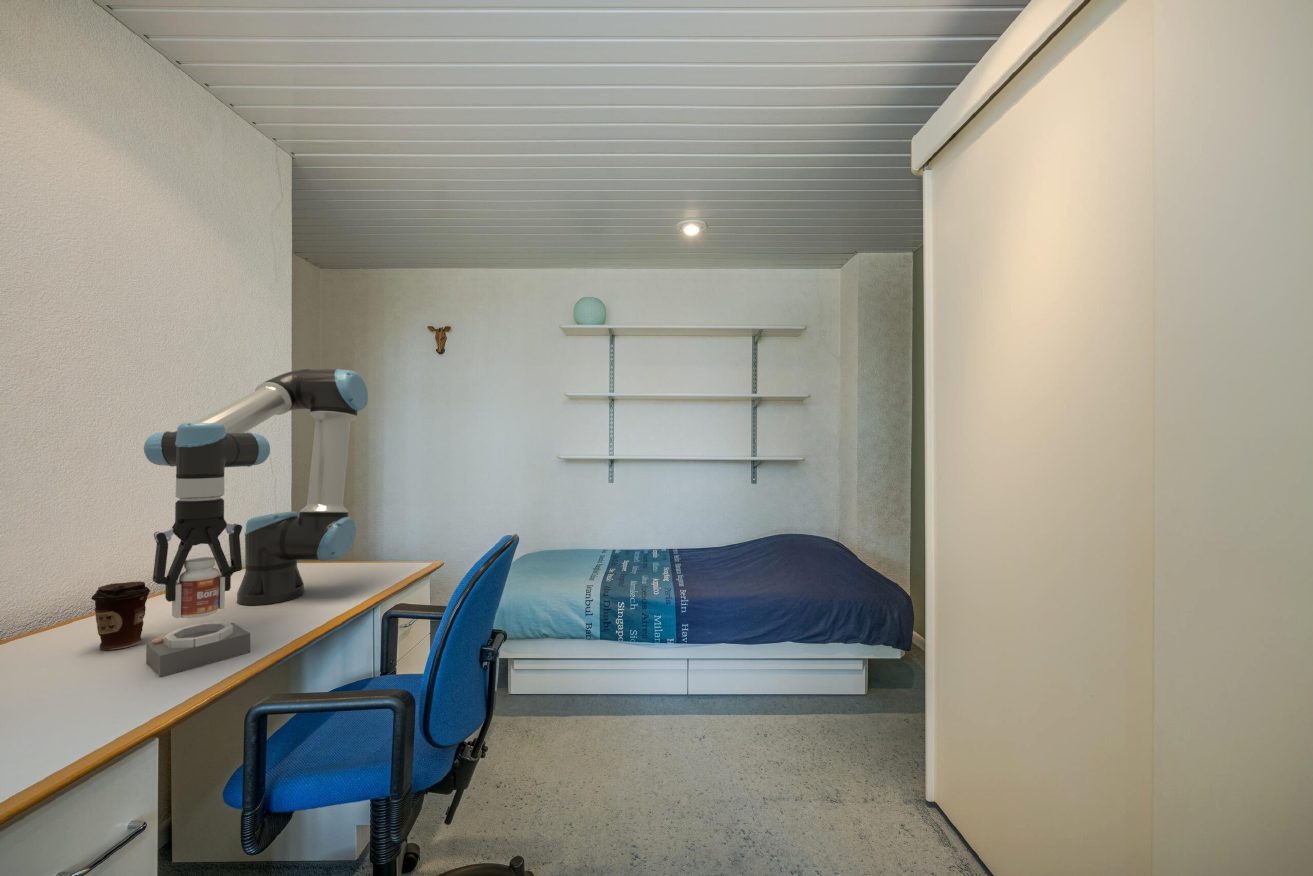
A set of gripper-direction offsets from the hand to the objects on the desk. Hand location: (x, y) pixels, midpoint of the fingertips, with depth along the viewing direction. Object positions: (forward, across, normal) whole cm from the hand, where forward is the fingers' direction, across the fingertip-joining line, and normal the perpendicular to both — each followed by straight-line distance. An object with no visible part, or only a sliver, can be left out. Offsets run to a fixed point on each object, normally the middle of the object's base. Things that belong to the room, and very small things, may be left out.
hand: (198, 611), depth 107 cm
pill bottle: (+1, 0, 0) cm, 1 cm away
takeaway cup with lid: (+10, +8, -21) cm, 25 cm away
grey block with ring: (+9, 0, 0) cm, 9 cm away
